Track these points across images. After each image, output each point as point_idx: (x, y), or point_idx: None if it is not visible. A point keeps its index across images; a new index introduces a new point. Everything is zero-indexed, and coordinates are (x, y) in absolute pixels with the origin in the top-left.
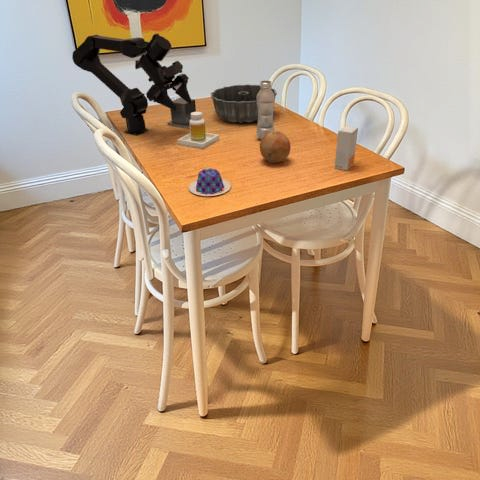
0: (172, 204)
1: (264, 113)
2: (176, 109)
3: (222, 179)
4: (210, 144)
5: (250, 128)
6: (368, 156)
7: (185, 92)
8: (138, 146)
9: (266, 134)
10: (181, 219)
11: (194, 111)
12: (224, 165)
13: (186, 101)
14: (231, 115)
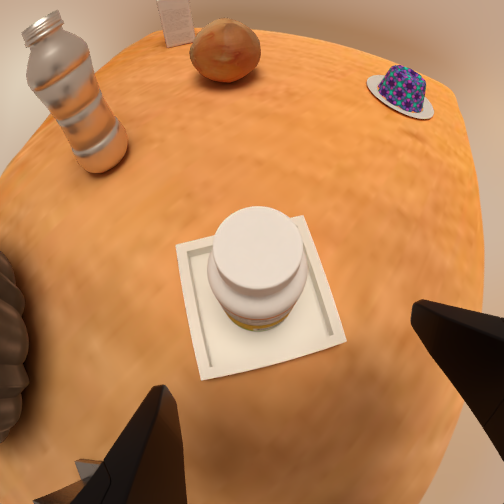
0: (459, 114)
1: (97, 82)
2: (418, 302)
3: (371, 90)
4: None
5: (45, 253)
6: (130, 50)
7: (139, 485)
8: (442, 424)
9: (239, 27)
10: (453, 94)
11: (73, 489)
12: (327, 117)
13: (182, 441)
14: (17, 321)
